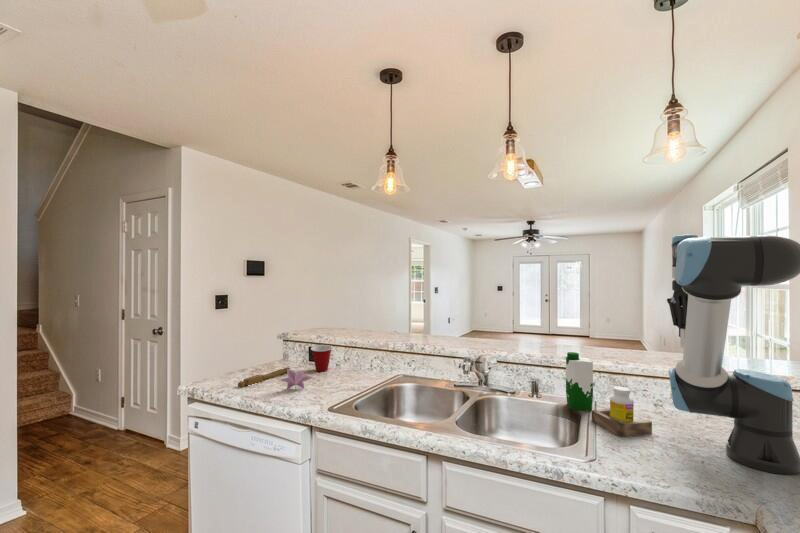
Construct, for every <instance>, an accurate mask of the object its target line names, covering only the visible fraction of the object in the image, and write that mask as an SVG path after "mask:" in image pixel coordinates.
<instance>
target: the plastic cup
mask: <svg viewBox="0 0 800 533" xmlns="http://www.w3.org/2000/svg"><path fill="white" fill-rule="evenodd" d="M332 349H333V346H332V345H328V344H318V345H314V346H312V347H310V351H311V352H312V356H313V361H314V362H313V363H314V366H315V371H316V372H319V373H321V372H322V373H323V372H328V369H329V364H330V358H331V353H332Z"/></svg>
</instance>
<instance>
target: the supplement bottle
mask: <svg viewBox="0 0 800 533" xmlns="http://www.w3.org/2000/svg"><path fill="white" fill-rule="evenodd" d="M612 391H613V394H611V395H610V397H609V409H610V418H612V419H614V420H616V421H618V422H620V423H624V422H634V399H633V398H632V397H631V396H630V394H631V390H630V388H628V387H625V386H613V390H612Z"/></svg>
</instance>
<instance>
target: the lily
mask: <svg viewBox="0 0 800 533" xmlns="http://www.w3.org/2000/svg"><path fill="white" fill-rule="evenodd" d="M286 374H287V377H285V378H282V379H281V380H280V382H284V383H287V386H286V387H287V389H291V388H292V387H294V388H295V390H297V386H298V387H300V388H301V389H304V388H305V384H304V382H306V381H309V380H311V379H312V380H313V378H314V377H313V376H311V375H305V370H301V371H299V372H296V371H294V370H293V369H291V368H290V369H287V373H286Z"/></svg>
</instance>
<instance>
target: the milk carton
mask: <svg viewBox="0 0 800 533" xmlns="http://www.w3.org/2000/svg"><path fill="white" fill-rule="evenodd" d="M593 367H594V362H593V361H592V360H591V359H590V358H588V357H581V356H580V354H579V353H578V352H573V351H572V352H571V351H570V352H567V353H566V356H565V395H566V404H567V405H568V407H569V409H570V410H572V411H585V410H593V399H594V368H593Z"/></svg>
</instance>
